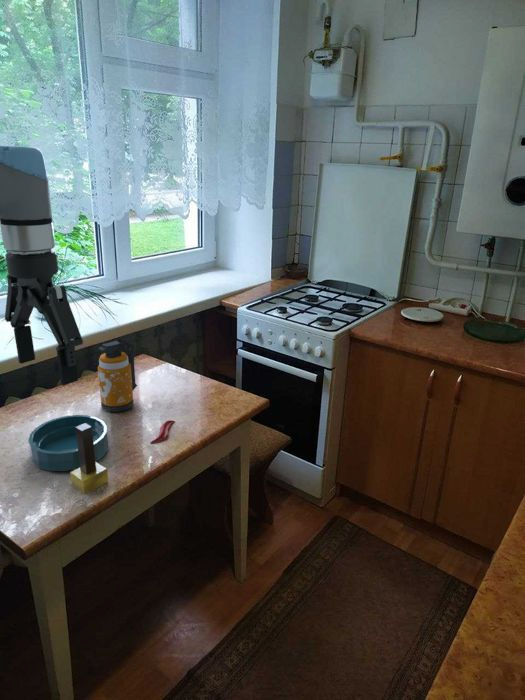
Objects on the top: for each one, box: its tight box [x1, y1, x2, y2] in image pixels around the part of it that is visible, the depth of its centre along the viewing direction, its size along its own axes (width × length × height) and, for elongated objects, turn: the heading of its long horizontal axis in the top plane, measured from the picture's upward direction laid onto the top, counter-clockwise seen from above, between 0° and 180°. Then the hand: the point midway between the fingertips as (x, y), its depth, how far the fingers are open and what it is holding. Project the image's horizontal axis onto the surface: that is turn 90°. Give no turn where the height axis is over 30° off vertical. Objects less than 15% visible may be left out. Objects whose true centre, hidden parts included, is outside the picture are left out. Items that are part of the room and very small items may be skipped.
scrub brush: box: [69, 423, 109, 495], centre depth 107 cm, size 6×5×14 cm
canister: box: [97, 338, 138, 413], centre depth 141 cm, size 9×11×20 cm
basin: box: [27, 414, 109, 472], centre depth 120 cm, size 18×18×6 cm
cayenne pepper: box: [150, 419, 176, 444], centre depth 131 cm, size 12×5×2 cm, turn 154°
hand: (47, 371), depth 87 cm, fingers open, 13 cm apart
